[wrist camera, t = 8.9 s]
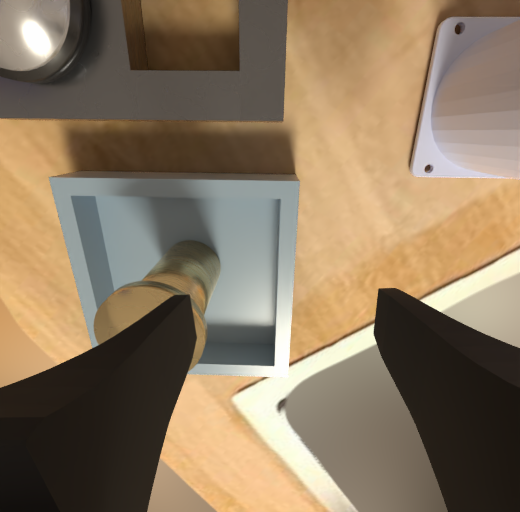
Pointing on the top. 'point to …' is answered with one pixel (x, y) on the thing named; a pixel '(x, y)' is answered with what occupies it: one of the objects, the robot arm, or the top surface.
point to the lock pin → (164, 292)
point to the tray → (197, 229)
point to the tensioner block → (131, 66)
